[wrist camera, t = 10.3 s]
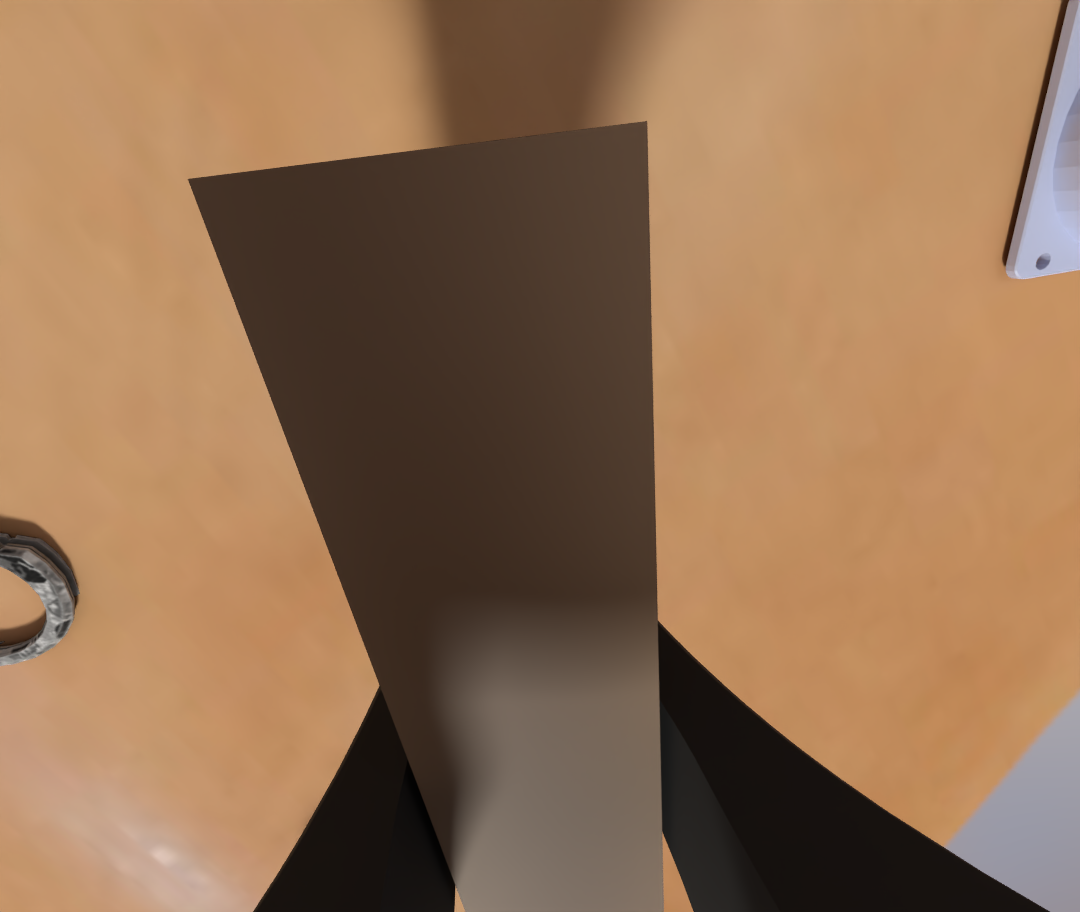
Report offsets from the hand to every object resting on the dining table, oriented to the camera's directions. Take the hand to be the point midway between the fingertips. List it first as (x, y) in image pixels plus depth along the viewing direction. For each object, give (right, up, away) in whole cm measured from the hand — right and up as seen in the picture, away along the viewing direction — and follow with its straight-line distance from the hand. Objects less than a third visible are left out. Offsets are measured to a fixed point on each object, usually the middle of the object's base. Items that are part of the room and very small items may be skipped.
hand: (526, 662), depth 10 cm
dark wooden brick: (-1, +2, +2) cm, 3 cm away
